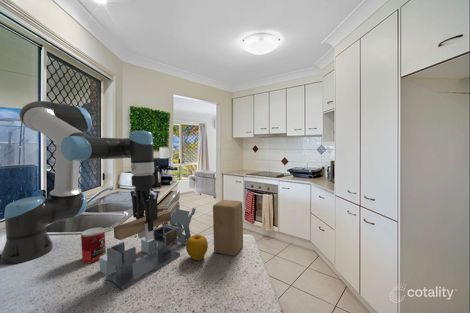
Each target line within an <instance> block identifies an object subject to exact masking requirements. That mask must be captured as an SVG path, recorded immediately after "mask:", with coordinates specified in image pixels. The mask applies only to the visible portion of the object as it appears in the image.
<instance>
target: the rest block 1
mask: <svg viewBox="0 0 470 313" xmlns="http://www.w3.org/2000/svg"><path fill="white" fill-rule="evenodd" d="M98 262H99V271H100V272H101V273H103V274H104V275H105V276H107V275H109V274H111V273H113V272H115V271H116V269H115V265H114V264H113V263H111V262H109V261H107V253H106V254H105V255H103V256H100V257H99V261H98Z"/></svg>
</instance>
